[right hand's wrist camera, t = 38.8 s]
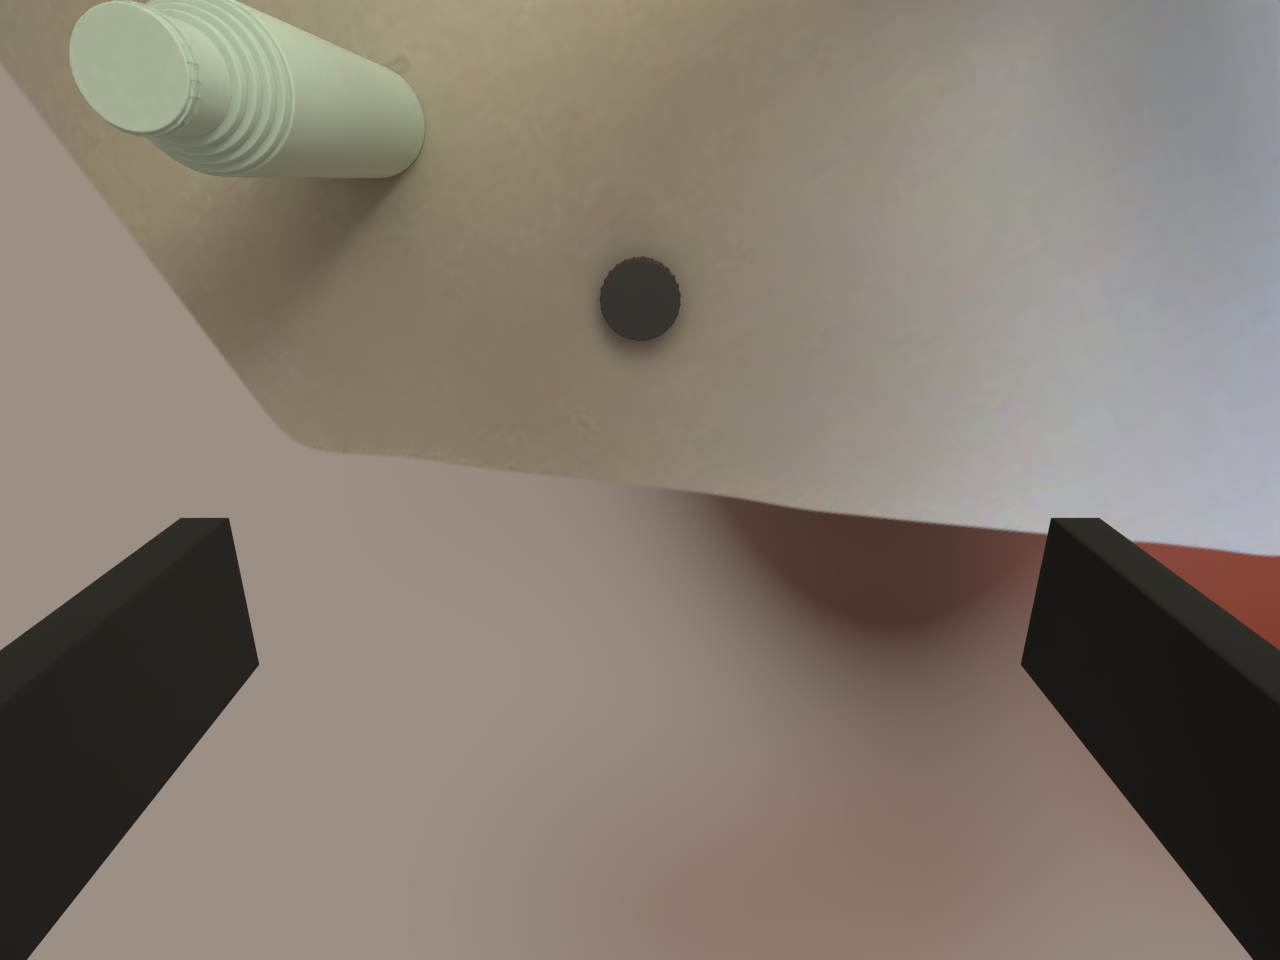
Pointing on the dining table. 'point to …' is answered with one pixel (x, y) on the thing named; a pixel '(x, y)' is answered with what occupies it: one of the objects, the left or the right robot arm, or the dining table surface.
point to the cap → (640, 299)
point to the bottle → (243, 91)
